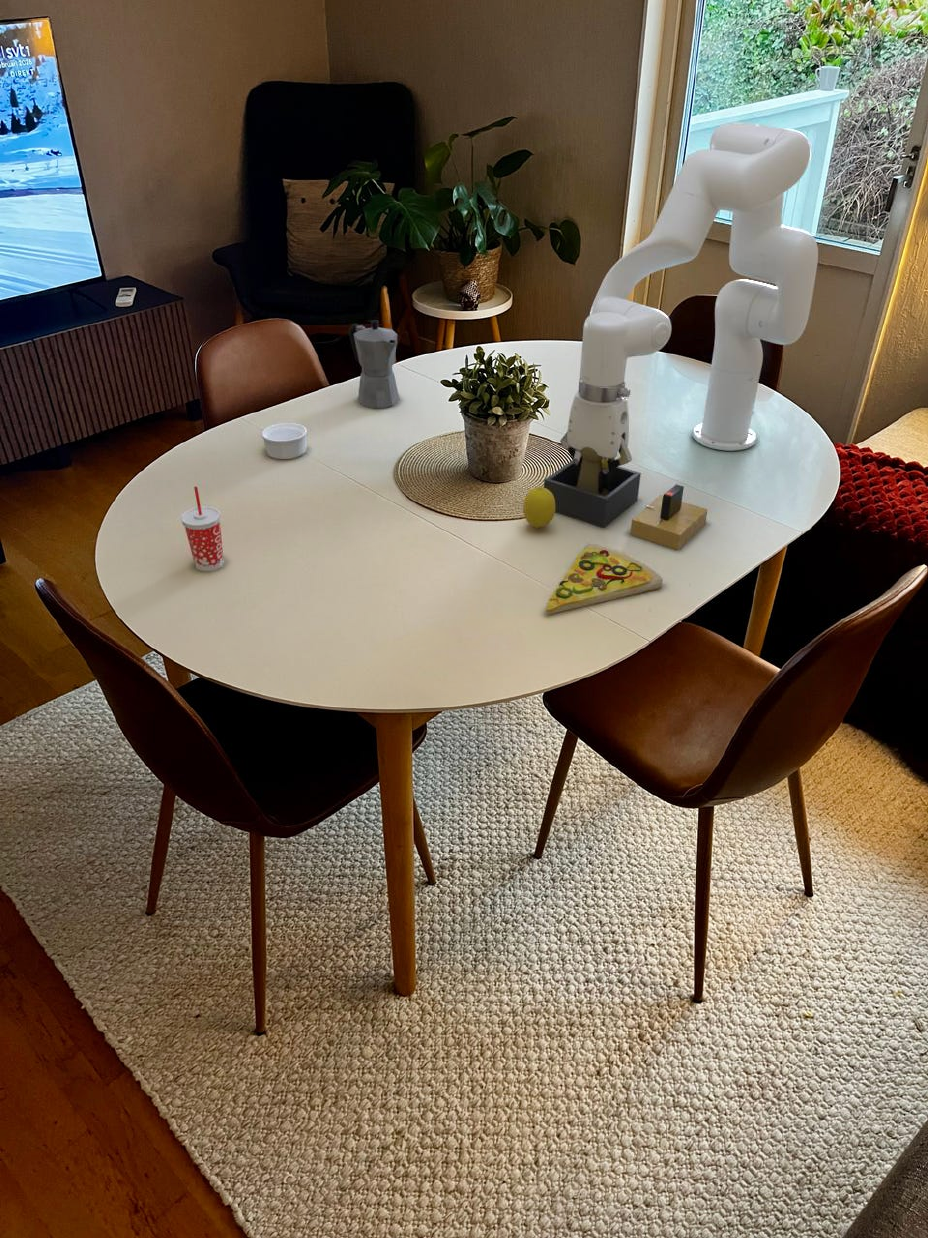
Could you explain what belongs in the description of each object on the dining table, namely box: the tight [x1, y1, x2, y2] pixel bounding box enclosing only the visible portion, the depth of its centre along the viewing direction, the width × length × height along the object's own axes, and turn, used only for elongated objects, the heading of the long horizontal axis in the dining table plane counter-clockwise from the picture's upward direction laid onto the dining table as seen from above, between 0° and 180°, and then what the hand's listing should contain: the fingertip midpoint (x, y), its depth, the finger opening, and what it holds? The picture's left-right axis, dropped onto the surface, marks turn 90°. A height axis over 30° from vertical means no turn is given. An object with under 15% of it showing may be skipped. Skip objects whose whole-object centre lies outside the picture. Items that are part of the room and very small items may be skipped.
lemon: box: [522, 485, 556, 529], centre depth 164 cm, size 6×6×8 cm
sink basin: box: [543, 459, 642, 529], centre depth 172 cm, size 13×13×6 cm
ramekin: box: [261, 422, 308, 460], centre depth 189 cm, size 9×9×4 cm
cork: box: [576, 447, 607, 497], centre depth 169 cm, size 6×6×11 cm
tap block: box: [629, 494, 709, 551], centre depth 165 cm, size 11×9×3 cm
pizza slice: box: [545, 542, 663, 616], centre depth 149 cm, size 16×21×3 cm
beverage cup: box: [180, 486, 225, 572], centre depth 152 cm, size 6×6×14 cm
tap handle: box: [660, 483, 685, 521], centre depth 163 cm, size 5×2×5 cm, turn 144°
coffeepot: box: [348, 319, 401, 410], centre depth 207 cm, size 15×9×18 cm, turn 44°
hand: (592, 485), depth 171 cm, fingers closed on cork, 3 cm apart
